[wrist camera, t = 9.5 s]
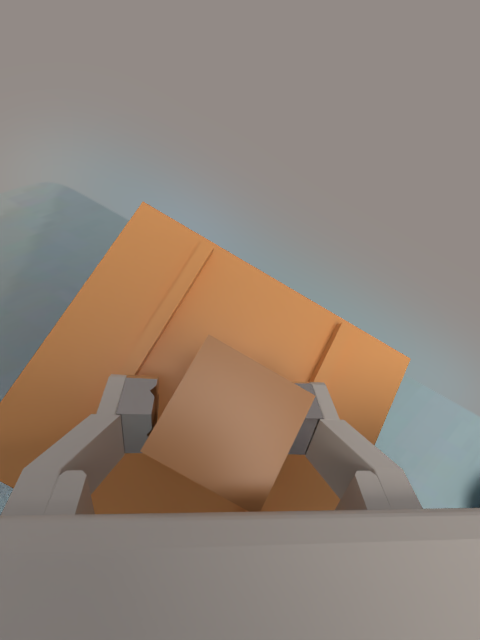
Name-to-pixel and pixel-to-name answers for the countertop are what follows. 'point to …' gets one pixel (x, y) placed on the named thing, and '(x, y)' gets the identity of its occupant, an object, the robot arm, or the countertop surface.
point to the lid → (198, 377)
